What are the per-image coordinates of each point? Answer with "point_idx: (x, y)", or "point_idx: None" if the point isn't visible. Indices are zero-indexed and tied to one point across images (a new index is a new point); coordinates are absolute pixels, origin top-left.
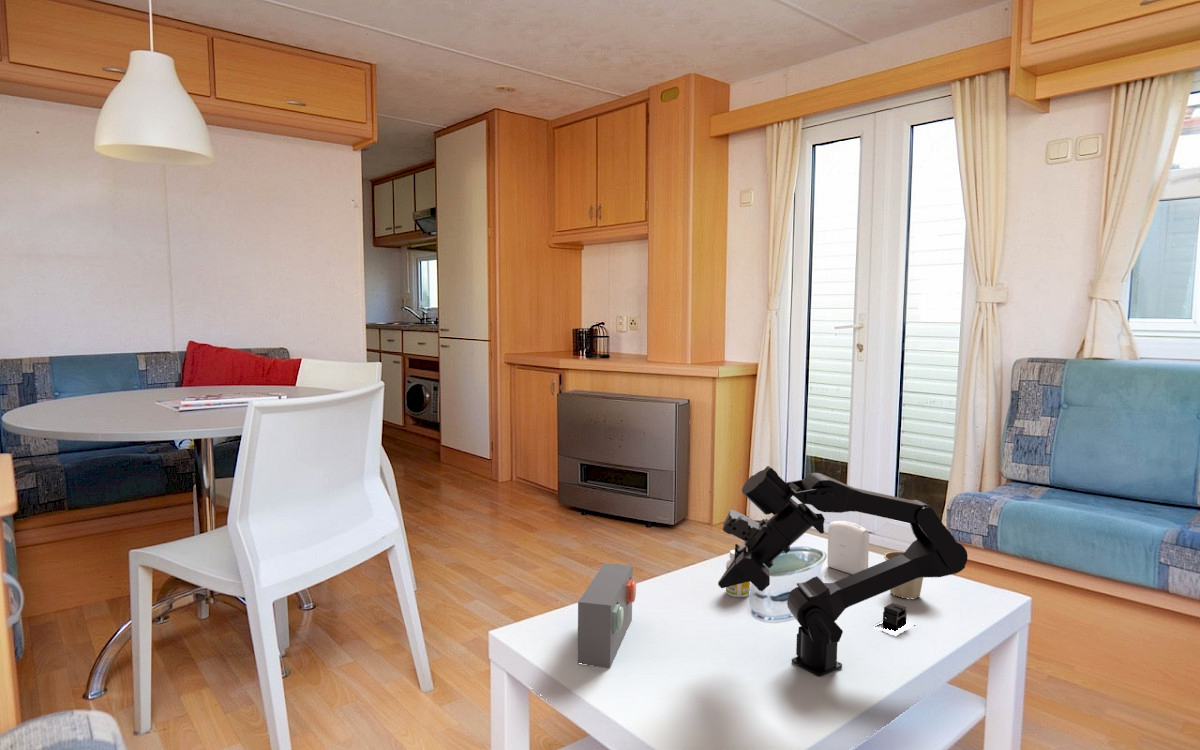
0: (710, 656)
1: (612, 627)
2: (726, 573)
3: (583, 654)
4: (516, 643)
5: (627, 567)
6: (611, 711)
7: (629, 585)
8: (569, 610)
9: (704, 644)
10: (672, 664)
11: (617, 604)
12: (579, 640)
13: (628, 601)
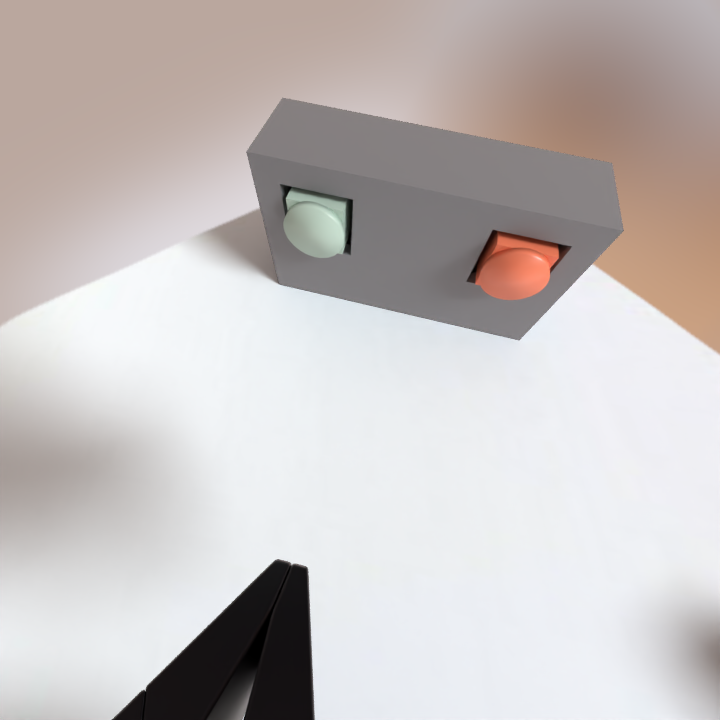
0: (322, 522)
1: None
2: (185, 665)
3: None
4: None
5: (596, 215)
6: (115, 277)
7: (501, 243)
8: None
9: (398, 516)
10: (284, 408)
11: (342, 205)
12: None
13: (477, 277)
